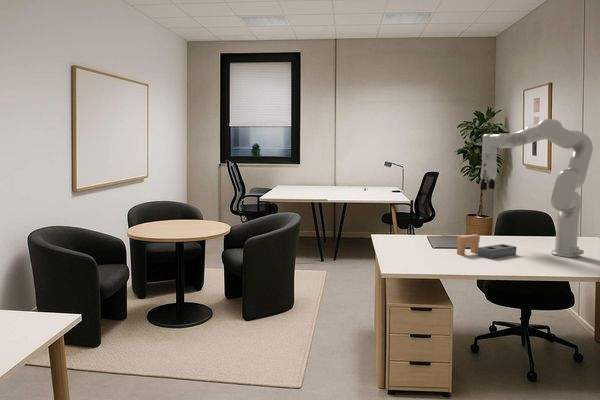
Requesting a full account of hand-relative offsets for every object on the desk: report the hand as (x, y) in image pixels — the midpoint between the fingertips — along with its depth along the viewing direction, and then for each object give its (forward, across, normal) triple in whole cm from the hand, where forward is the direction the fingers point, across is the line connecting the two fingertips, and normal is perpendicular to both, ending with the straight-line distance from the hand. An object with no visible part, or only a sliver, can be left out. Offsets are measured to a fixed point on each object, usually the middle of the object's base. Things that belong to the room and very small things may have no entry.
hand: (487, 189), depth 302 cm
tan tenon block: (+29, -34, -7) cm, 45 cm away
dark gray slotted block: (+29, -29, -19) cm, 45 cm away
